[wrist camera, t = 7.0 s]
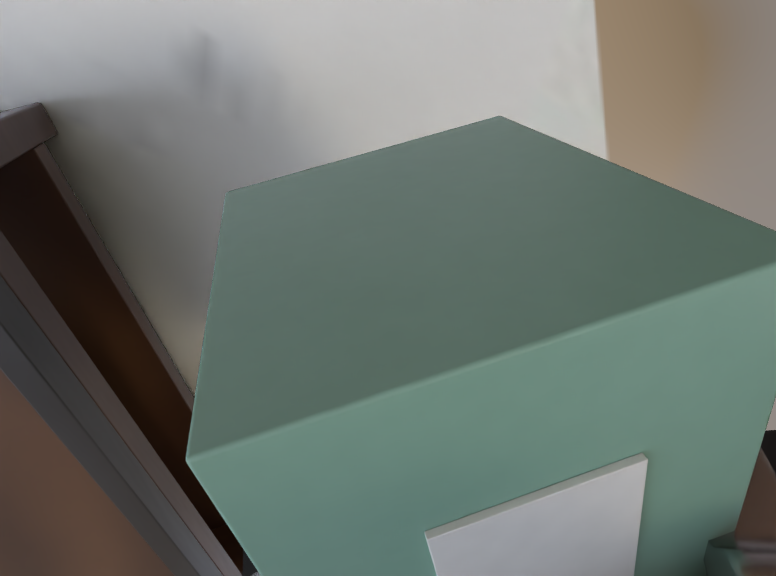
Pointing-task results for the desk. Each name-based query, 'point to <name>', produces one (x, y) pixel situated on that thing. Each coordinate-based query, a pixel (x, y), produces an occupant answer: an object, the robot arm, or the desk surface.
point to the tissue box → (482, 364)
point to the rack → (87, 397)
